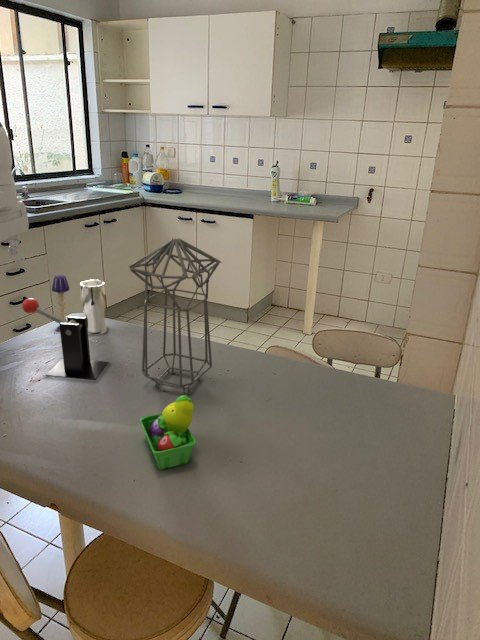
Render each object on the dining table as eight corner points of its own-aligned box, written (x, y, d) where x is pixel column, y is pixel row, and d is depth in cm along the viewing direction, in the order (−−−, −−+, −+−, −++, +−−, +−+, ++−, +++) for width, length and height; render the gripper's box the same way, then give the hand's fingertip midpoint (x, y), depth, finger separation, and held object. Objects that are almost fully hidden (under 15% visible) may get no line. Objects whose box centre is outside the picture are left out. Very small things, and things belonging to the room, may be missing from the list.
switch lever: (16, 311, 106) (21, 298, 105) (25, 306, 109) (29, 293, 108) (73, 339, 107) (78, 327, 106) (80, 333, 111) (85, 321, 109)
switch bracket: (45, 379, 109) (38, 326, 104) (63, 362, 117) (57, 311, 112) (95, 384, 108) (90, 330, 103) (109, 366, 116) (105, 315, 111)
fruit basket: (139, 439, 90) (137, 389, 85) (183, 430, 93) (183, 380, 89) (154, 477, 80) (153, 422, 76) (203, 465, 84) (203, 412, 79)
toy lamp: (62, 327, 138) (56, 273, 131) (76, 329, 137) (71, 274, 131) (53, 333, 133) (46, 277, 127) (67, 335, 132) (62, 279, 126)
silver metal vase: (78, 334, 133) (73, 284, 128) (94, 325, 139) (90, 278, 134) (98, 338, 131) (94, 288, 125) (113, 330, 137) (110, 281, 131)
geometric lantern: (192, 410, 100) (192, 251, 86) (130, 393, 105) (121, 241, 92) (221, 378, 113) (226, 236, 100) (165, 364, 118) (162, 228, 105)
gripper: (6, 190, 110) (14, 247, 116) (-51, 202, 91) (-39, 269, 97) (32, 192, 110) (38, 249, 115) (-21, 204, 91) (-10, 272, 96)
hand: (2, 258), depth 106 cm, fingers open, 8 cm apart
